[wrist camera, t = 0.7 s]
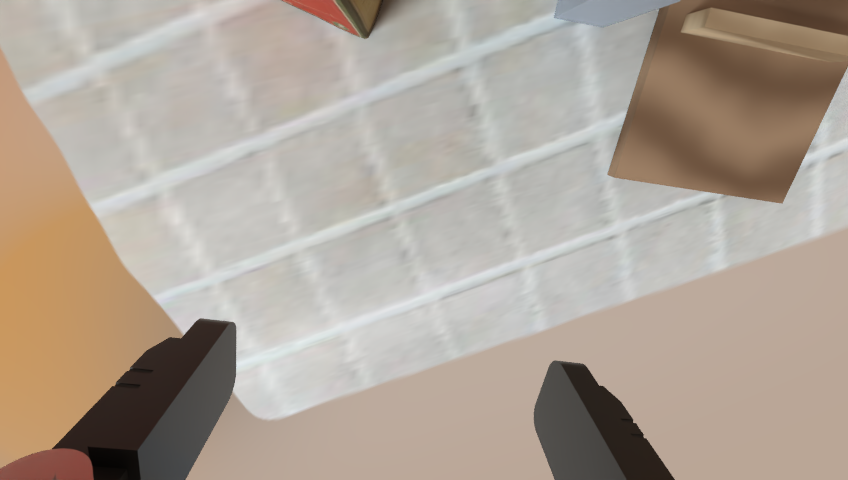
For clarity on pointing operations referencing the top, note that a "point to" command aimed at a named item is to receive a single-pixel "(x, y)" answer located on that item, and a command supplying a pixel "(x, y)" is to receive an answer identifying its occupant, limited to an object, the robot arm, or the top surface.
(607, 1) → the block
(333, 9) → the food packaging
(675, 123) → the board
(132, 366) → the robot arm
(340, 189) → the top surface
